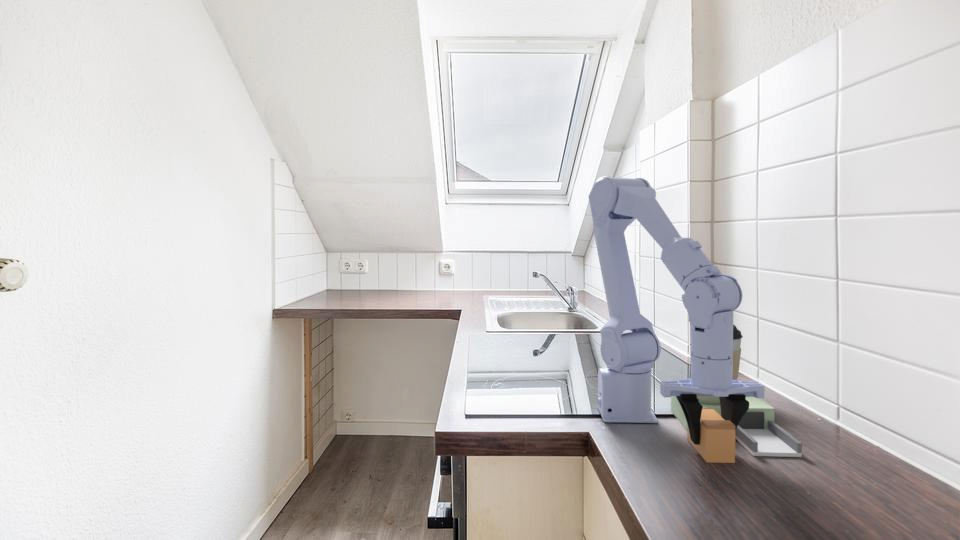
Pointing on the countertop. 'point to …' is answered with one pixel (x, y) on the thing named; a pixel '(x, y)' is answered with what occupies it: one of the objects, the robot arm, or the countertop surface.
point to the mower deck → (752, 428)
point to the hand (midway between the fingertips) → (710, 442)
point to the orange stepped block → (715, 438)
